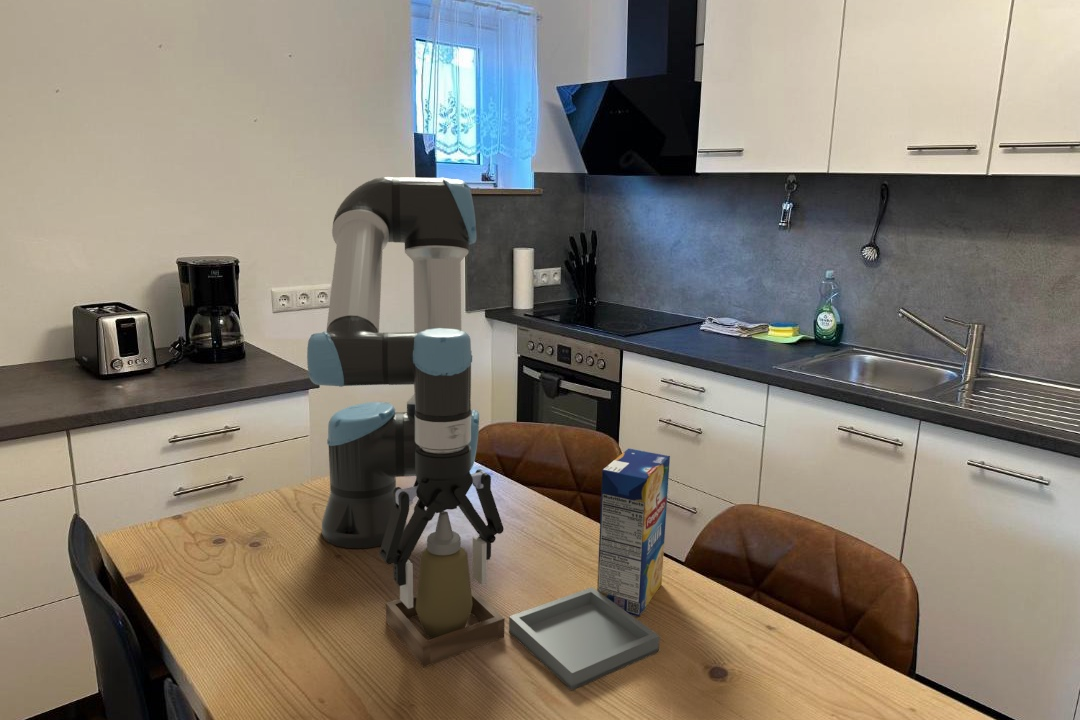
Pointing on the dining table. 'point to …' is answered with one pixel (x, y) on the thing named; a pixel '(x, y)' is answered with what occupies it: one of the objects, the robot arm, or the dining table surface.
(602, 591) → the beverage box
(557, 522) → the dining table surface
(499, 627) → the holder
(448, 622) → the squeeze bottle
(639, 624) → the tray
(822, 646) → the dining table surface
